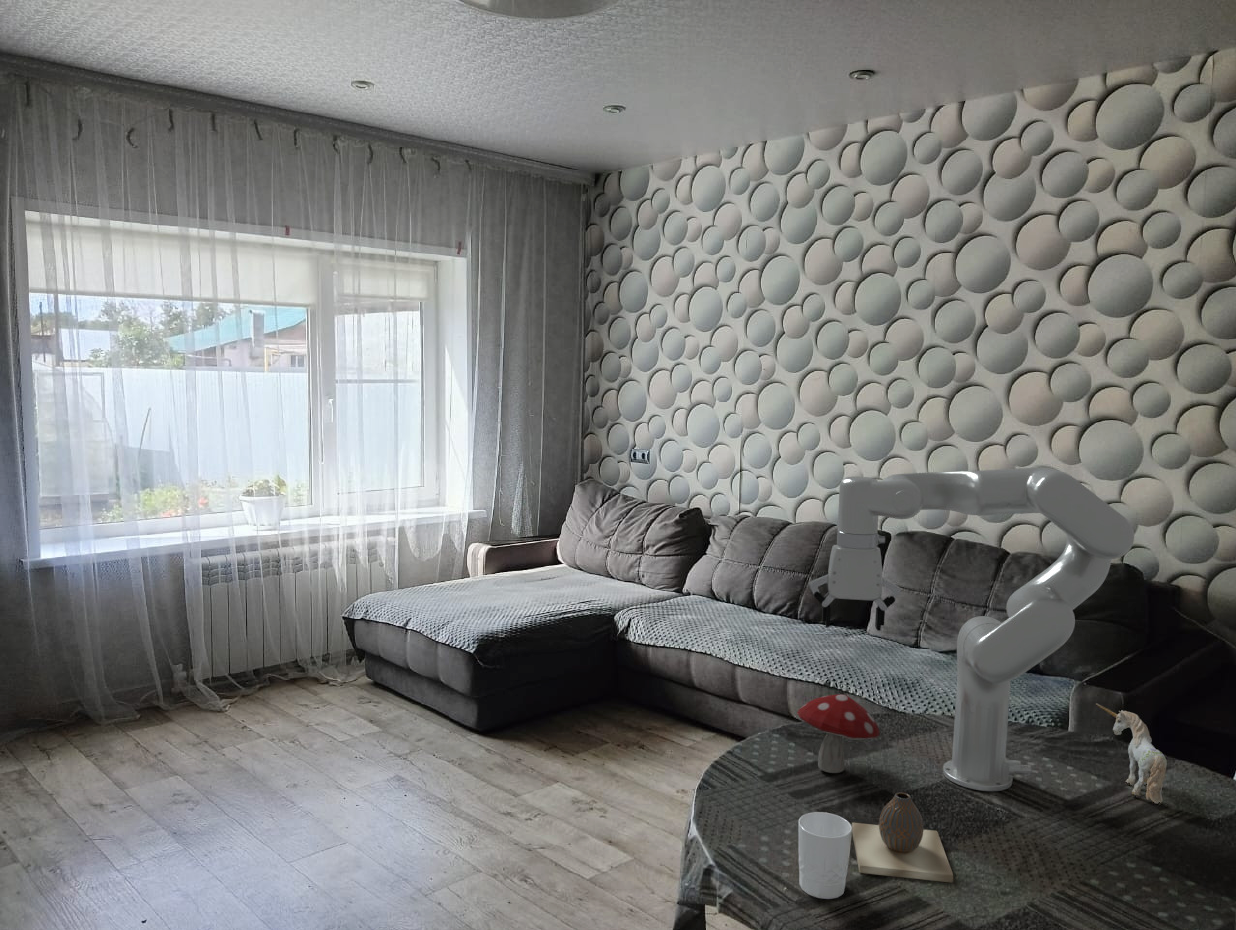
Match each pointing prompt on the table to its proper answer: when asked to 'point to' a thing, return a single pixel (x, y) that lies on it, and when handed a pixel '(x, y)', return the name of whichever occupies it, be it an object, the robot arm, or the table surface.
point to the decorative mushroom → (837, 727)
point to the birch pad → (900, 856)
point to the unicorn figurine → (1141, 755)
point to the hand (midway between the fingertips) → (852, 627)
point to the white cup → (823, 854)
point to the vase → (901, 824)
